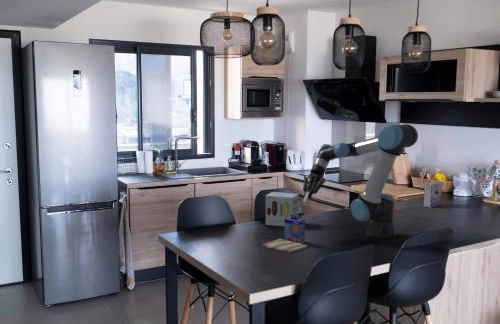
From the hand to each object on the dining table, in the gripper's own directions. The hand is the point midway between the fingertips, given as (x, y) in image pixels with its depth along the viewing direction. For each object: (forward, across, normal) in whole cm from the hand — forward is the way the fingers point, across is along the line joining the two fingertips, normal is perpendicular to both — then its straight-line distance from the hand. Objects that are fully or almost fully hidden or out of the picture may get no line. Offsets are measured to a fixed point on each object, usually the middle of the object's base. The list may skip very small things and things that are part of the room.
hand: (304, 202), depth 274 cm
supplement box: (0, +25, -28) cm, 38 cm away
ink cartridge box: (+21, 0, -6) cm, 22 cm away
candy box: (-72, -37, -99) cm, 128 cm away
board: (+28, 0, +2) cm, 28 cm away
